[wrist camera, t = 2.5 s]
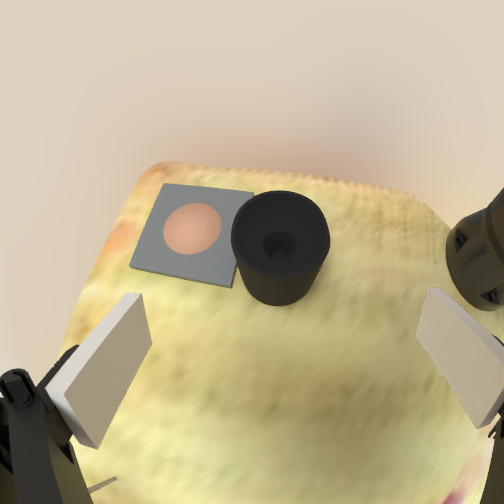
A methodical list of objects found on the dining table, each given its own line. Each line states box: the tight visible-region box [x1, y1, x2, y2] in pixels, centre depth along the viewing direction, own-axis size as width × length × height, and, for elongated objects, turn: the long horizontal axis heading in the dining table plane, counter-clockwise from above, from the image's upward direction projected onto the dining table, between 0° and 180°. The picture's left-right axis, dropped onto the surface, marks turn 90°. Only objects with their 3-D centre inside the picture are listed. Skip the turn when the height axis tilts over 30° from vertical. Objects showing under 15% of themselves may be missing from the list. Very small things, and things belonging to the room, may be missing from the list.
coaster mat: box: [129, 183, 254, 288], centre depth 38 cm, size 14×14×1 cm
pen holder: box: [231, 191, 330, 306], centre depth 31 cm, size 9×9×10 cm
